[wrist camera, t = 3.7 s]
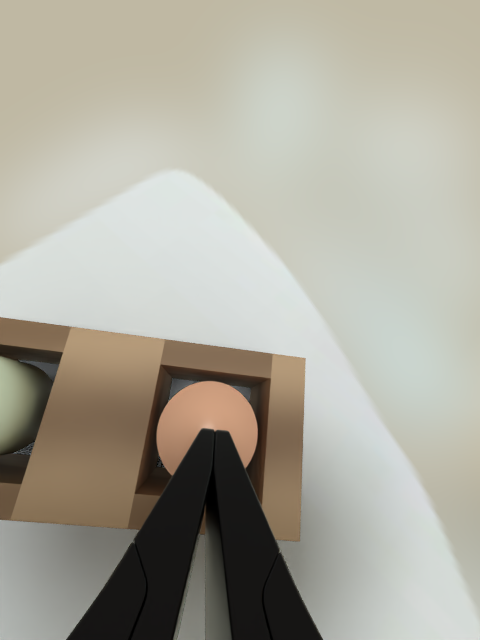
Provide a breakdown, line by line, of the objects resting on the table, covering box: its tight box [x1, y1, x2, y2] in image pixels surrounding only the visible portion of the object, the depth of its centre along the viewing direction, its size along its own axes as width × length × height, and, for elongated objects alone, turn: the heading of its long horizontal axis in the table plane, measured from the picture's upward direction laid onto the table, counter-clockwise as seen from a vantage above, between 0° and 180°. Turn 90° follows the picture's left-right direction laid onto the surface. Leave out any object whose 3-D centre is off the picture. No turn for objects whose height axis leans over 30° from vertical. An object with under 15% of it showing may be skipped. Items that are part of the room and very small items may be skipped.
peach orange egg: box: [157, 381, 258, 476], centre depth 15 cm, size 4×4×5 cm
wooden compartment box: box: [0, 317, 305, 541], centre depth 15 cm, size 8×19×6 cm, turn 84°
